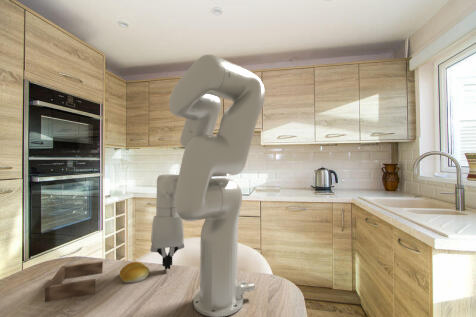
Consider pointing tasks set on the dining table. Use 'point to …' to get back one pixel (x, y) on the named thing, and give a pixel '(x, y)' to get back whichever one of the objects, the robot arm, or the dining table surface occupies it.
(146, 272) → the bread roll
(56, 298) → the brown u-shaped frame
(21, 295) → the dining table surface
